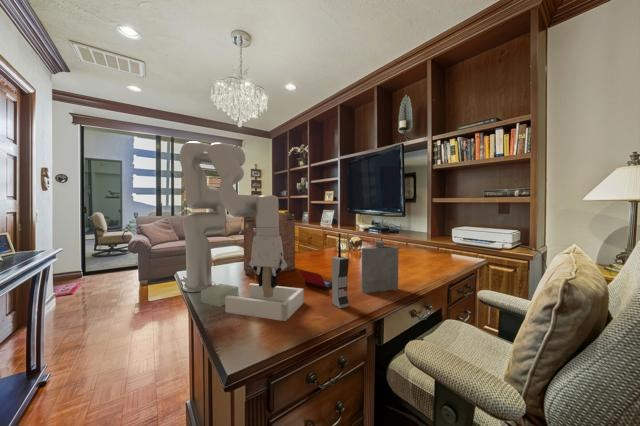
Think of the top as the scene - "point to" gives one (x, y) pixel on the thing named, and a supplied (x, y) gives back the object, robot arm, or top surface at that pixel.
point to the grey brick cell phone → (339, 279)
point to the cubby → (266, 303)
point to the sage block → (218, 294)
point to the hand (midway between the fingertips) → (268, 285)
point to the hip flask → (379, 268)
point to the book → (284, 231)
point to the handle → (267, 282)
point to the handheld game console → (315, 280)
